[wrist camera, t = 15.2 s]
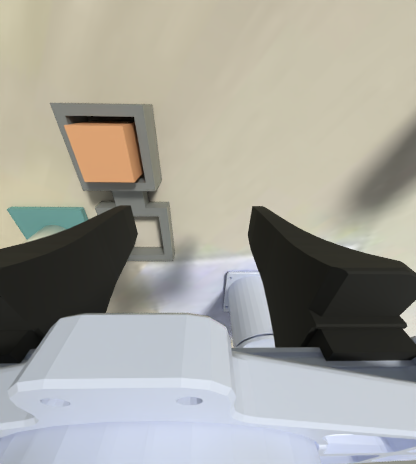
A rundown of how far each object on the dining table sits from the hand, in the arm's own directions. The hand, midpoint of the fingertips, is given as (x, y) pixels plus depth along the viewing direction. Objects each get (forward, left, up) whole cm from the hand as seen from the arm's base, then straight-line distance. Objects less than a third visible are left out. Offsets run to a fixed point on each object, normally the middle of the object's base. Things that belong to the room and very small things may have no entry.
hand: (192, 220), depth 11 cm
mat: (-8, +17, -9) cm, 21 cm away
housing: (-2, +7, -9) cm, 12 cm away
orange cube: (+3, +7, -9) cm, 12 cm away
